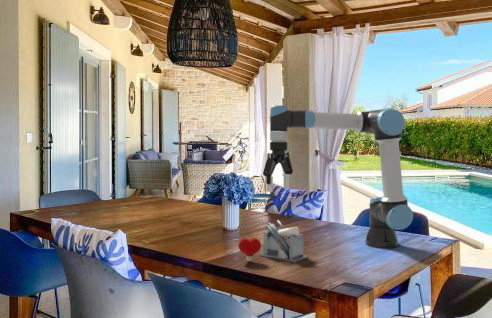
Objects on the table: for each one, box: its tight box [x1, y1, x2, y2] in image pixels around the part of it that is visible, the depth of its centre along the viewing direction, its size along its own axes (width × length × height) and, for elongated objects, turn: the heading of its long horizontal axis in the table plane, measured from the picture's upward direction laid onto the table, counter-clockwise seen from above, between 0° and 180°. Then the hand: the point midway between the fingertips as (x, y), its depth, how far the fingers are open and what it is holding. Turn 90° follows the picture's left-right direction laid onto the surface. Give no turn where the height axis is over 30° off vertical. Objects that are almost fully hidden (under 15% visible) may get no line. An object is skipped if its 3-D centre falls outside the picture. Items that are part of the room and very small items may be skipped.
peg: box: [278, 226, 300, 238], centre depth 210 cm, size 4×4×9 cm
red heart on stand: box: [238, 237, 262, 263], centre depth 203 cm, size 9×7×10 cm
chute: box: [259, 219, 308, 263], centre depth 212 cm, size 18×10×15 cm, turn 53°
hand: (278, 190), depth 212 cm, fingers open, 13 cm apart
